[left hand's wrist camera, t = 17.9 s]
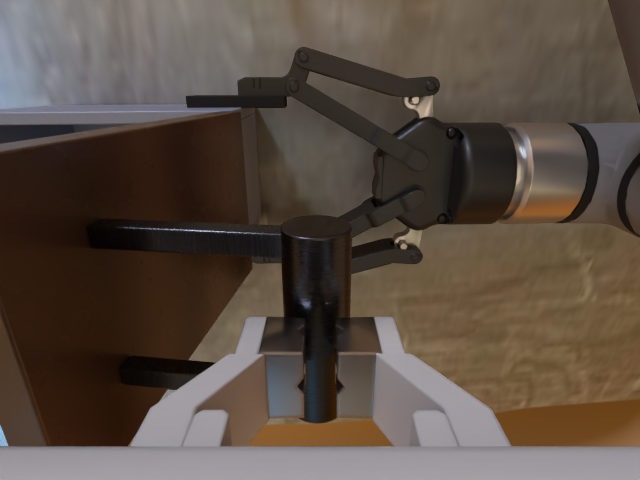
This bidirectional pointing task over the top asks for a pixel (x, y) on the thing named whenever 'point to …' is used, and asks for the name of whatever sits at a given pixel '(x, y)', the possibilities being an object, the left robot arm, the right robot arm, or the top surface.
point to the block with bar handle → (141, 274)
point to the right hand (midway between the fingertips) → (200, 176)
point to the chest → (93, 117)
